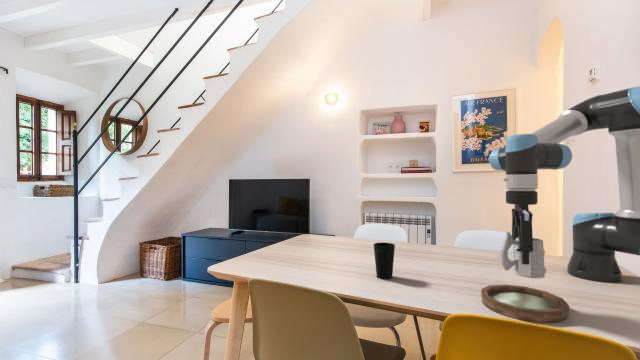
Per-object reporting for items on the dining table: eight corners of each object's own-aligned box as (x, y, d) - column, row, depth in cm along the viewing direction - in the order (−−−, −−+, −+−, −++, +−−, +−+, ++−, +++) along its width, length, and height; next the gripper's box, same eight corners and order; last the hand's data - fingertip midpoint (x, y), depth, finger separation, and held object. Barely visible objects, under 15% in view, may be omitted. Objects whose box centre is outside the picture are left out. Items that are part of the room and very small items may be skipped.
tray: (554, 299, 94) (554, 289, 94) (579, 328, 75) (579, 316, 75) (479, 290, 101) (479, 281, 101) (485, 315, 83) (485, 304, 83)
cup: (397, 275, 118) (396, 243, 118) (392, 281, 111) (392, 247, 111) (376, 273, 121) (376, 241, 121) (371, 278, 114) (371, 245, 114)
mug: (553, 278, 84) (553, 233, 84) (508, 278, 84) (508, 233, 84) (534, 270, 91) (533, 229, 92) (493, 270, 92) (493, 229, 92)
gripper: (500, 188, 99) (500, 261, 99) (512, 191, 80) (512, 280, 80) (528, 189, 96) (528, 263, 96) (547, 191, 78) (548, 284, 78)
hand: (521, 271), depth 88 cm, fingers closed on mug, 7 cm apart
